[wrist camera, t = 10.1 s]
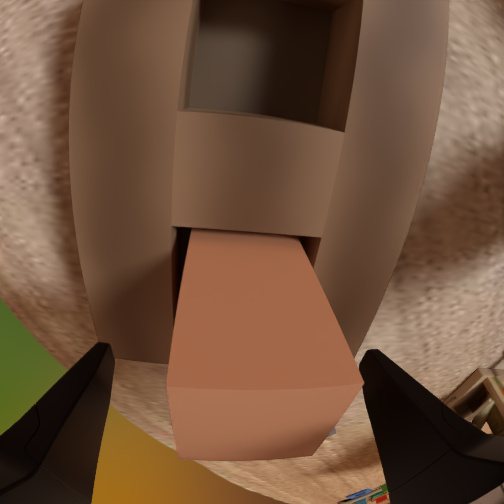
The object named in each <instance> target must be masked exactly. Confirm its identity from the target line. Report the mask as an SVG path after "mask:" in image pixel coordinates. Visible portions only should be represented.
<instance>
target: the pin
mask: <svg viewBox="0 0 504 504" xmlns="http://www.w3.org/2000/svg"><path fill="white" fill-rule="evenodd" d="M363 384H364V381H363V379H362V376H361V374H360V372H359V369H358V367H357V364H356V362H355V360H354V357H353V355H352V353H351V351H350V348H349V346H348V344H347V341H346V339H345V337H344V335H343V332H342V330H341V328H340V326H339V324H338V321H337V319H336V317H335V315H334V313H333V310H332V308H331V306H330V304H329V302H328V299H327V297H326V295H325V293H324V291H323V289H322V287H321V285H320V282H319V280H318V278H317V276H316V274H315V272H314V270H313V268H312V266H311V264H310V262H309V259H308V257H307V255H306V253H305V251H304V249H303V247H302V245H301V243H300V241H299V239H298V237H297V235H287V234H275V233H262V232H250V231H236V230H223V229H209V228H194V227H192V230H191V235H190V240H189V245H188V250H187V255H186V260H185V266H184V271H183V276H182V282H181V288H180V293H179V299H178V305H177V311H176V318H175V324H174V330H173V337H172V344H171V351H170V358H169V366H168V374H167V382H166V390H167V397H168V403H169V409H170V415H171V421H172V427H173V432H174V438H175V443H176V448H177V453H178V458H179V459H187V460H206V461H253V460H272V459H285V458H296V457H305V456H312V455H313V454H314V453H315V451H316V450H317V449H318V448H319V446H320V445H321V444H322V443H323V441H324V440H325V439H326V437H327V436H328V435H329V433H330V432H331V431H332V429H333V428H334V427H335V425H336V424H337V423H338V421H339V420H340V418H341V417H342V416H343V414H344V413H345V411H346V410H347V408H348V407H349V406H350V404H351V403H352V401H353V400H354V398H355V397H356V395H357V394H358V392H359V391H360V389H361V387H362V386H363Z"/></svg>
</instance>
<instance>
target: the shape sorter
mask: <svg viewBox="0 0 504 504" xmlns="http://www.w3.org/2000/svg"><path fill="white" fill-rule="evenodd" d="M360 493H361V494H360ZM388 493H389V492H388V489H387V485H386V484H384V485H382V486H381V488H379V489H376V490H374V491H372V490H370V489H365V490H362V491H359V492H357V493H354V494H351V495H348V496H346V497H347V498H351V499H352V500H349V501H346V502H342V501H340V502H339V504H367V503H369V502H370V501H371V502H373V501H375V500H376V503H377V504H379V503H381V502H383V501H385V500H387V499H388V498H387V495H388ZM364 494H365V495H364ZM361 495H362V496H361ZM359 496H360V497H359ZM356 497H357V498H356ZM353 498H354V499H353Z"/></svg>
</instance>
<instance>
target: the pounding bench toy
mask: <svg viewBox="0 0 504 504" xmlns="http://www.w3.org/2000/svg"><path fill="white" fill-rule="evenodd" d="M443 403H444V404H446V405H447V406H448V407H449V408H451V409H452V410H453V411H454V412H456V413H457V414H458V415H460V416H461V417H462V418H464V419H465V420H467V421H468V422H469V421H470V420H471V419H473V418H474V419H473V421H472V423H471V422H470V423H471V424H473V425H474V426H476V427H477V428H479V429H480V430H481V429H482V427H483V426H484V424H485V422H487V423H488V425H489V427H490V429H491V431H492V433H493V434H489V435H492V436H498V437H504V370H500V369H485V368H478V369H477V370H476V371H475V372H474V373H473V374H472V375H471V376H470V377H469V378H468V379H467V380H466V381H465V382H464V383H463V384H462V385H461V386H460V387H459V388H458V389H457V390H456V391H455V392H454V393H453V394H451V395H450V396H449V397H448V398H447V399H446V400H445V401H444V402H443Z"/></svg>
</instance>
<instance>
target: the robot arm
mask: <svg viewBox="0 0 504 504" xmlns="http://www.w3.org/2000/svg"><path fill="white" fill-rule="evenodd" d="M114 366H115V359H114V355H113V352H112V348H111V345H110V344H109V343H106V342H98V343H96V344H95V345H94V346H93V347H92V348H91V349H90V350H89V351H88V352H87V353H86V354H85V355H84V356H83V357H82V358H81V359H80V360H79V361H78V362H77V363H76V364H75V365H73V366H72V367H71V368H70V369H69V370H68V371H67V372H66V374H64V375H63V376H62V377H61V378H60V379H59V380H58V381H57V382H56V383H55V384H54V385H53V386H52V387H51V388H50V389H49V390H48V391H47V392H46V393H45V394H44V395H43V396H42V397H41V398H40V399H39V400H38V402H36V404H34V405H33V406H32V407H31V409H30V410H29V411H28V412H27V413H25V415H23V416H22V417H21V418H20V420H18V421H17V422H16V423H15V424H14V425H12V426H11V427H10V428H9V429H8V430H6V431H5V432H4V433H3V434H2V435H0V504H91V502H92V494H93V488H94V481H95V475H96V468H97V463H98V457H99V452H100V446H101V441H102V436H103V431H104V426H105V422H106V418H107V413H108V409H109V404H110V397H111V389H112V381H113V374H114ZM359 372H360V374H361V376H362V379H363V381H364V384H363V386H362V389H363V394H364V400H365V404H366V408H367V412H368V415H369V419H370V422H371V426H372V430H373V433H374V437H375V441H376V444H377V448H378V452H379V456H380V460H381V464H382V468H383V472H384V476H385V480H386V485H387V489H388V492H389V493H388V494H389V499H390V503H391V504H504V437H498V436H492V435H489V434H486V433H485V432H483V431H482V430H480V429H479V428H477V427H476V426H474V425H473V424H471V423H470V422H468V421H467V420H465V419H464V418H462V417H461V416H460V415H458V414H457V413H456V412H454V411H453V410H452V409H451V408H449V407H448V406H447V405H446V404H444V403H443V402H441V400H439V399H438V398H437V397H436V396H435V395H433V394H432V393H431V392H430V391H428V390H427V389H426V388H425V387H424V386H422V385H421V384H420V383H419V382H417V381H416V380H415V379H414V378H413V377H411V376H410V375H409V374H408V373H407V372H405V371H404V370H403V369H402V368H400V367H399V366H398V365H397V364H396V363H394V362H393V361H392V360H391V359H389V358H388V357H387V356H386V355H385V354H383V353H382V352H381V351H380V350H378V349H370V350H367V351H366V353H365V355H364V357H363V358H362V360H361V362H360V364H359Z"/></svg>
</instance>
